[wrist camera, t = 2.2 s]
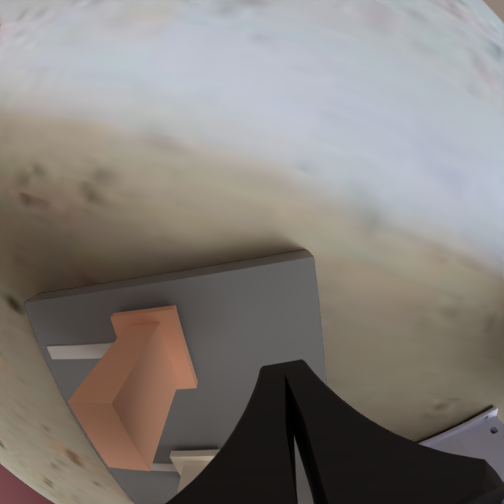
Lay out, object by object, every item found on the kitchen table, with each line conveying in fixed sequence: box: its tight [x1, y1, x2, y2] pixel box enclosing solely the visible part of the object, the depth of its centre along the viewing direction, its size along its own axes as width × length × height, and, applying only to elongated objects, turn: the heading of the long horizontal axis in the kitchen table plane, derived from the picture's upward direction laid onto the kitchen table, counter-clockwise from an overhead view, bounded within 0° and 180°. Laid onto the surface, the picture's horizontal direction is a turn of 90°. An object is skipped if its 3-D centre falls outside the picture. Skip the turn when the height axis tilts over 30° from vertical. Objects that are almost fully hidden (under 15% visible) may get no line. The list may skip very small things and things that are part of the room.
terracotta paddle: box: [68, 305, 198, 471], centre depth 10 cm, size 3×4×6 cm
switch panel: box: [24, 250, 326, 504], centre depth 16 cm, size 15×24×2 cm, turn 10°
